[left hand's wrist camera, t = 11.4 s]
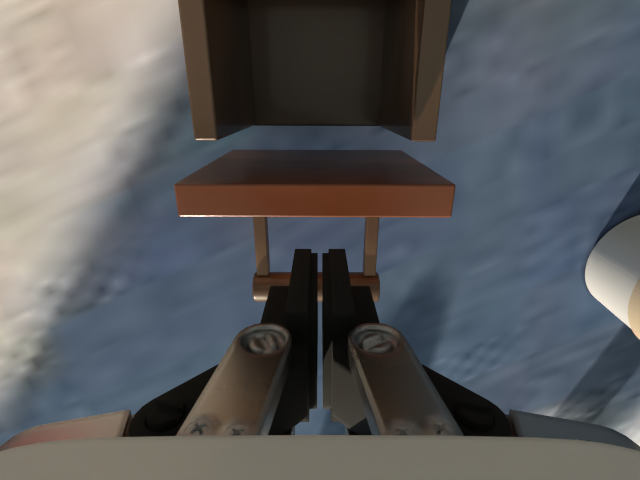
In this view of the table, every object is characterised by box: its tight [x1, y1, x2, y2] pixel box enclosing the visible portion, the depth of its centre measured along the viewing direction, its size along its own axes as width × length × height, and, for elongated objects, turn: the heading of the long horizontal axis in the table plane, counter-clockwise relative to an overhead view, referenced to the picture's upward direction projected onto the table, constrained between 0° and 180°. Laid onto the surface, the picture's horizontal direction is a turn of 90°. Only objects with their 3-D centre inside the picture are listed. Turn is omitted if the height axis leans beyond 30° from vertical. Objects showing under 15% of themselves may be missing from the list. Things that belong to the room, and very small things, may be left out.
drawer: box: [174, 0, 455, 302], centre depth 15 cm, size 24×10×9 cm, turn 0°
